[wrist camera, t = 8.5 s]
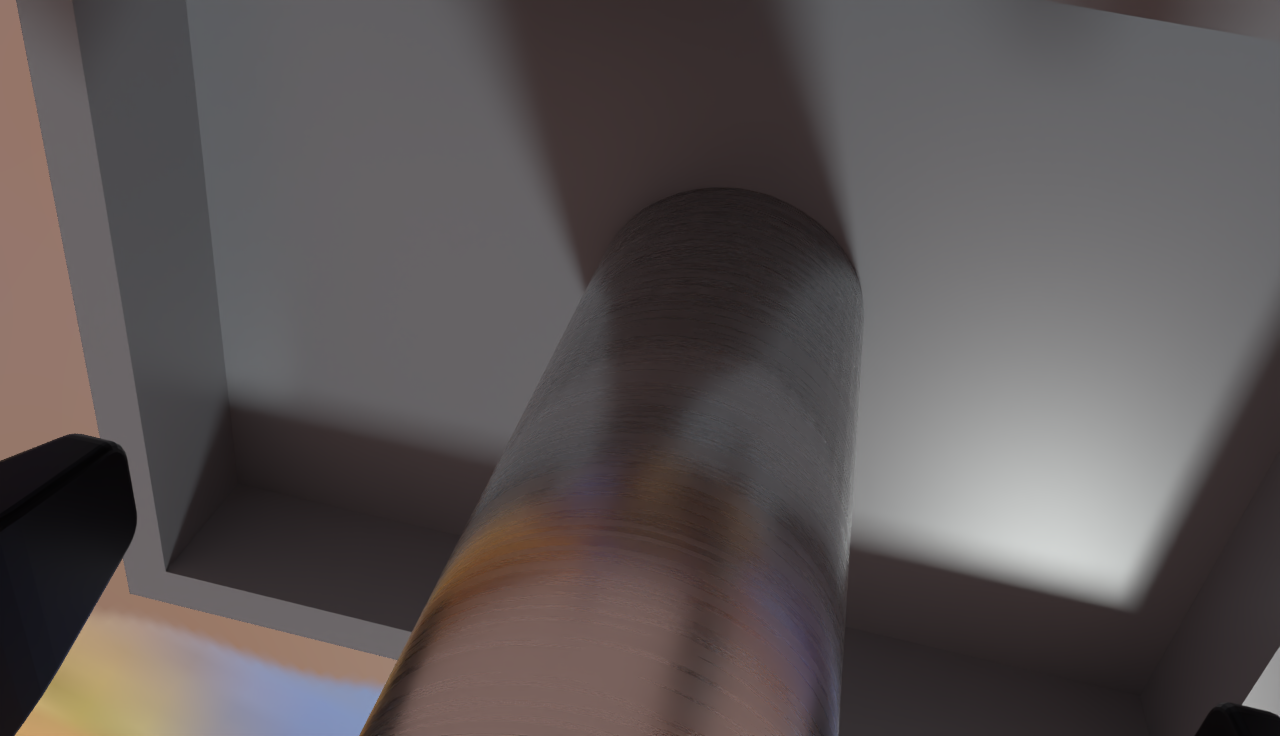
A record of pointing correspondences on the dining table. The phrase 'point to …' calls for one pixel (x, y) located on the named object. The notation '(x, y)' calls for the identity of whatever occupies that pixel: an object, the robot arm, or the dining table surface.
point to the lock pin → (664, 501)
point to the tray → (576, 241)
